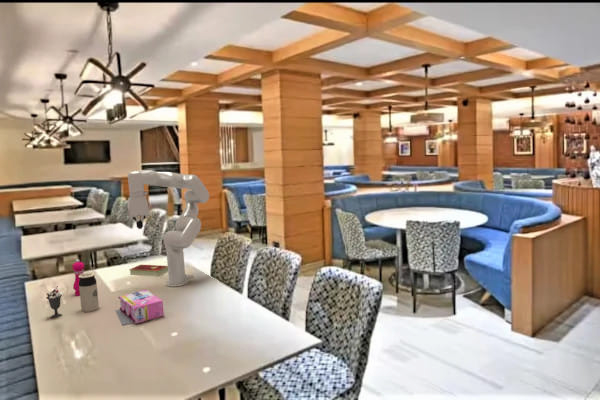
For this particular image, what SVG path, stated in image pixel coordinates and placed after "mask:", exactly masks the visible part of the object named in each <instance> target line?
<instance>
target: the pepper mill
mask: <svg viewBox="0 0 600 400" xmlns="http://www.w3.org/2000/svg"><path fill="white" fill-rule="evenodd" d="M84 269H85V263H84V262H82V261H80V259H75V262H74V263H73V264H72V270H73V274H74V275H75V276H74V277H75V279H74V282H73V285H72V286H73V287H72V289H73V290H74V295H75V296H77V297H78V296H79V297H80V290H79V281H80V278H79V275H81V274H85V272H84Z"/></svg>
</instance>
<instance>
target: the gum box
mask: <svg viewBox="0 0 600 400" xmlns="http://www.w3.org/2000/svg"><path fill="white" fill-rule="evenodd" d="M118 299H120V300H119V303H120V307H119V309H120V311H121V312H122V313H123V314H125V315H126V316H127V317H128V318H129V319H131V320H132V321H133V322H134V323H133V324H135V325H136V324H139V323H144V322H147V321H151V320H155V319H159V318H161V317H164V316H165V314H164V313H165V312H164V301H163V300H162V299H161V298H159V297H157V296H156V295H155V294H153V292H152V293H151V292H150V291H149V290H147V289H142V290H138V291H134V292H131V293H127V294H122V295H120V296H119V295H118Z"/></svg>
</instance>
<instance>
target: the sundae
mask: <svg viewBox="0 0 600 400" xmlns="http://www.w3.org/2000/svg"><path fill="white" fill-rule="evenodd" d="M61 297H63V294H61V293H60V292H59V290H58V289H57V287H54V289H53V290H51V291H50V292H49V293H46V300H48V303H49V306H50V309H52V310H54V314H53V315H51V316H50V318H51V319H58V318H61V317H62V316H63V314H62V313H59V312H58V309H59V308H60V307H61V300H62V299H61Z"/></svg>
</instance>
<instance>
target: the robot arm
mask: <svg viewBox="0 0 600 400" xmlns="http://www.w3.org/2000/svg"><path fill="white" fill-rule="evenodd" d="M127 180H128V192H129V197H127V214H128V215H127V216H128V217H127V218H128V219H129V220H134V221H135V222H136V228H137V229H138V230H143V227H144V220H145V219H146V218H149V217H150V210H149V203H148V199H147V196H146V195H148V192H147V191H145V185H150V186H158V187H163V188H174V189H186V191H184V196H183V198H184V203H185V208H184V209H183V211H182V213H181V214H180V215H179V217H178V218H177V220H176V221H175V222H176V223H175V225H174V226H175V229H176V230H172V229H171V230H169V231H167V232H166V233H165V234H164V236H163V243H164V246H165V250H166V251H165V252H166V260H167V261H166V263H167V266H168V271H167V273H168V274H167V275H168V280H166V282H165V284H166V286H167V287H176V288H177V287H181V286H184V285H187V284H189V279H194V274H186V269H185V268H186V267H185V255H184V254H185V252H184V249H187V248H189V247H191V245H192V244H193V243H194V241H195V239H197V236H198V234H199V233H200V231H201V229H202V222H201V219H200V218H198V215H199V211H200V210H199V205H198V204H205V203H207V202H208V201H209V200H210V193H209V191H208V189H207V188H206V186H205V184H204V183H203V182H202V180H201V179H200V177H198V176H197V174H196V175H195V174H183V173H176V172H169V171H156V170H153V169H139V170H136V171H134V170H133V171H129V172H128V173H127Z"/></svg>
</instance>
